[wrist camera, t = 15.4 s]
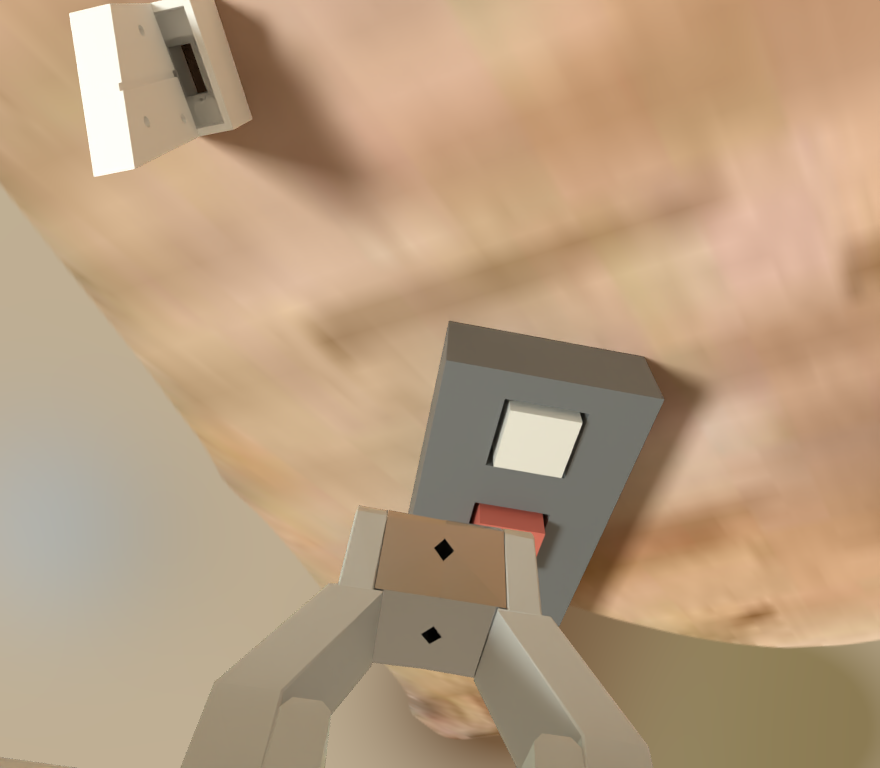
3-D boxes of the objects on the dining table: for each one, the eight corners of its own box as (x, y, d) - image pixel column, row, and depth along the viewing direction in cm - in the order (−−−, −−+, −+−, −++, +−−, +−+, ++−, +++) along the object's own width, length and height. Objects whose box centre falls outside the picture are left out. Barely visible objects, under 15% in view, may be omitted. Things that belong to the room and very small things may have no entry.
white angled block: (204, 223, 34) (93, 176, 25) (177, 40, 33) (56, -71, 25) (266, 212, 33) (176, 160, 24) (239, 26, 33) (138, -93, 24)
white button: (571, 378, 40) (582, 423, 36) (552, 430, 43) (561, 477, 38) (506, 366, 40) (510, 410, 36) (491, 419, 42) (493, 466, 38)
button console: (644, 356, 40) (664, 399, 35) (538, 606, 54) (544, 658, 49) (449, 321, 39) (446, 360, 35) (393, 583, 53) (386, 634, 49)
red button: (538, 482, 44) (545, 534, 40) (523, 525, 46) (528, 577, 42) (478, 472, 44) (479, 523, 39) (466, 515, 46) (466, 567, 42)
